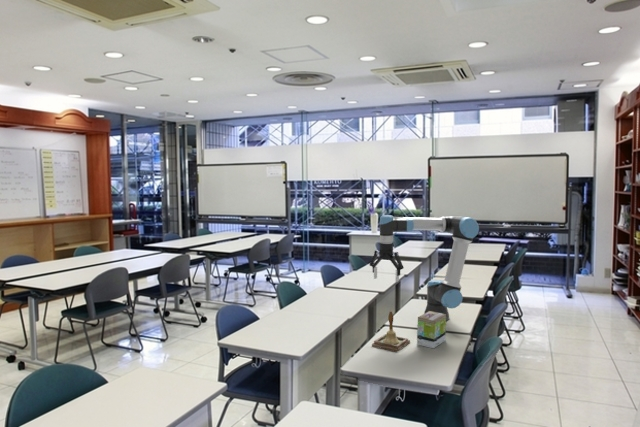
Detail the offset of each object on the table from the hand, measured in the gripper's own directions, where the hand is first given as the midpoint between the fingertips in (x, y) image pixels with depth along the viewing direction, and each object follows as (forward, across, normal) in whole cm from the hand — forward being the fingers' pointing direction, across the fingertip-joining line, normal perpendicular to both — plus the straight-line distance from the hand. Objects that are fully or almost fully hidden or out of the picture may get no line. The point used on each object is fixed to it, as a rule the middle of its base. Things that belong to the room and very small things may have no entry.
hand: (386, 279), depth 253 cm
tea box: (+29, +29, -6) cm, 42 cm away
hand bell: (+28, +13, -20) cm, 36 cm away
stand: (+29, +13, -20) cm, 37 cm away
